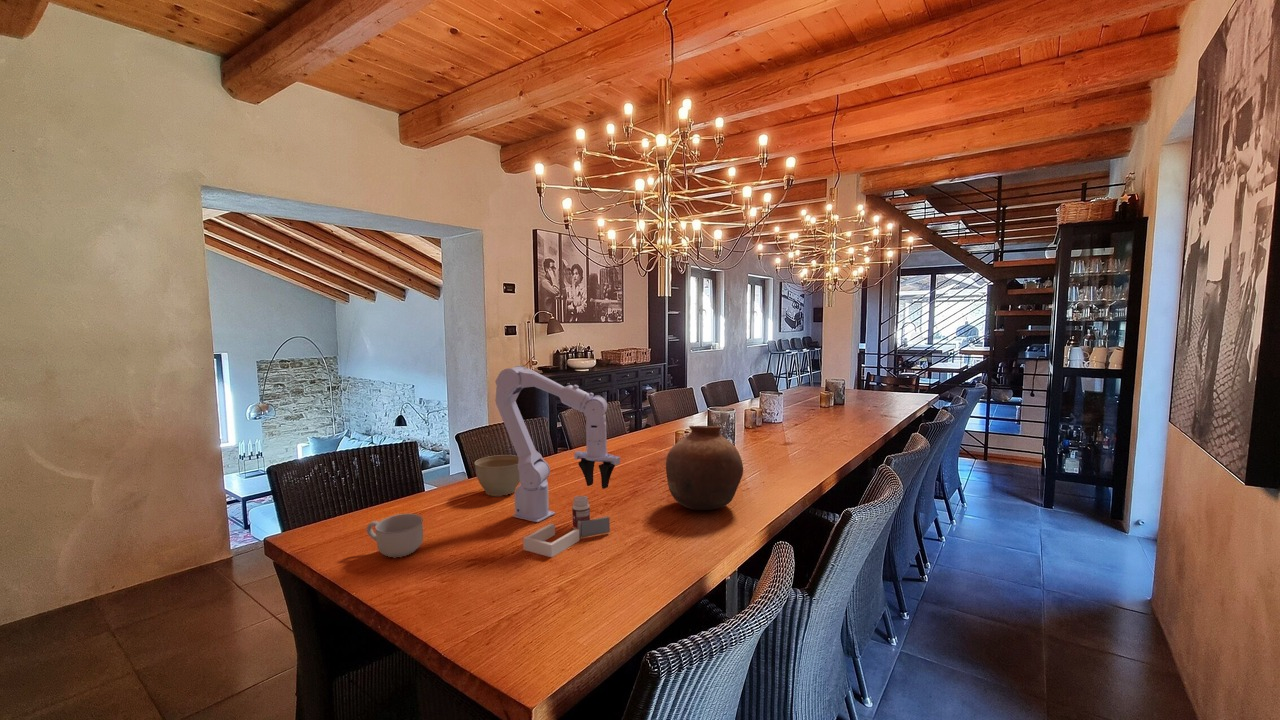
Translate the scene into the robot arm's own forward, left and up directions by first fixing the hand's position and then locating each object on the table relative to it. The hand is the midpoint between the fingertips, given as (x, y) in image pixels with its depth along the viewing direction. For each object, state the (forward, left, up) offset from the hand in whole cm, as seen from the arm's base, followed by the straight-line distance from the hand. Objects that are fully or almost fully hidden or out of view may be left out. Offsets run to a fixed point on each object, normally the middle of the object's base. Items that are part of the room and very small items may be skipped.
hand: (597, 486), depth 150 cm
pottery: (+23, +23, -10) cm, 34 cm away
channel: (0, -20, -9) cm, 22 cm away
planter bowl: (-42, +4, -10) cm, 43 cm away
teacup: (-32, -42, -10) cm, 54 cm away
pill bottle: (0, -8, -10) cm, 12 cm away
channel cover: (+6, -11, -9) cm, 16 cm away
